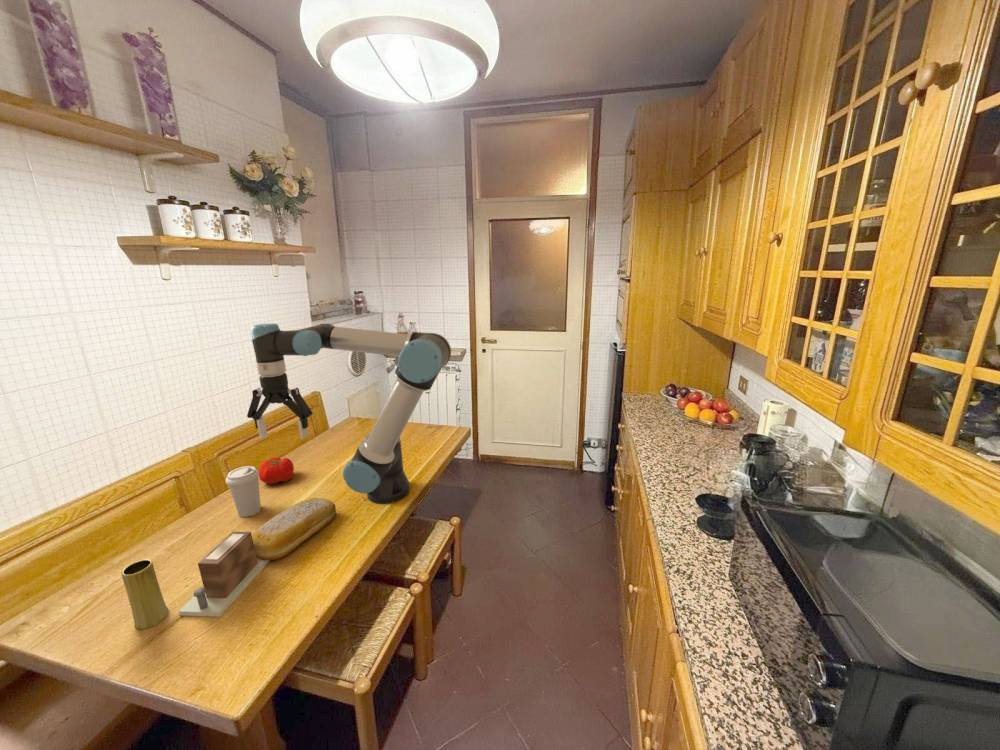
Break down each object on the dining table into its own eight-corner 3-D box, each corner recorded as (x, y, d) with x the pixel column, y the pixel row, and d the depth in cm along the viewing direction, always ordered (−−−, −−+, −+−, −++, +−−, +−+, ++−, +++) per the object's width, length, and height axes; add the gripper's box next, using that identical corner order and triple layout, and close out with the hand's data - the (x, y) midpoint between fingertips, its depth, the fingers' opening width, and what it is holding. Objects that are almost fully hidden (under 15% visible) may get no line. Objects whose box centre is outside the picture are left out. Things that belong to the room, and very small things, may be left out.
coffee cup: (250, 521, 130) (242, 480, 126) (226, 518, 132) (216, 477, 128) (272, 505, 139) (264, 465, 136) (249, 502, 141) (241, 464, 137)
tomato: (252, 485, 153) (248, 465, 151) (280, 470, 164) (277, 451, 162) (276, 491, 148) (272, 470, 146) (303, 475, 159) (300, 456, 157)
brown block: (240, 563, 109) (232, 530, 107) (257, 563, 109) (250, 531, 107) (206, 597, 98) (197, 562, 95) (226, 598, 98) (217, 562, 95)
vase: (148, 609, 97) (133, 558, 93) (175, 606, 97) (161, 556, 93) (127, 630, 91) (110, 578, 87) (156, 628, 91) (140, 575, 88)
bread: (241, 559, 112) (237, 534, 110) (309, 509, 137) (306, 488, 135) (280, 568, 109) (277, 543, 107) (342, 515, 133) (340, 494, 132)
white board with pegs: (272, 557, 113) (268, 540, 112) (220, 616, 94) (215, 596, 92) (238, 556, 114) (234, 539, 112) (179, 615, 94) (174, 595, 93)
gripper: (225, 377, 121) (239, 442, 126) (305, 376, 119) (315, 442, 124) (242, 371, 128) (254, 433, 133) (317, 370, 126) (326, 432, 132)
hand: (284, 437), depth 129 cm, fingers open, 13 cm apart
